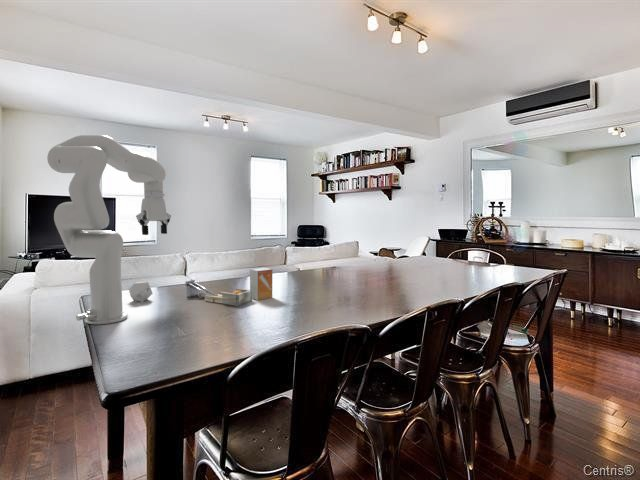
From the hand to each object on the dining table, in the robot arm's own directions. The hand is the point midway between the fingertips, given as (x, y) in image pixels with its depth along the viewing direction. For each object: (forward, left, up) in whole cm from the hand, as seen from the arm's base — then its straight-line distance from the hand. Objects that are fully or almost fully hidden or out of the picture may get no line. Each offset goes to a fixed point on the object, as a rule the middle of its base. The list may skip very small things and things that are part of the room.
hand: (154, 234), depth 160 cm
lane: (+9, -33, -28) cm, 45 cm away
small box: (+20, -43, -29) cm, 55 cm away
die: (-8, 0, -28) cm, 30 cm away
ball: (+10, -38, -26) cm, 47 cm away
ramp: (+9, -19, -28) cm, 35 cm away
